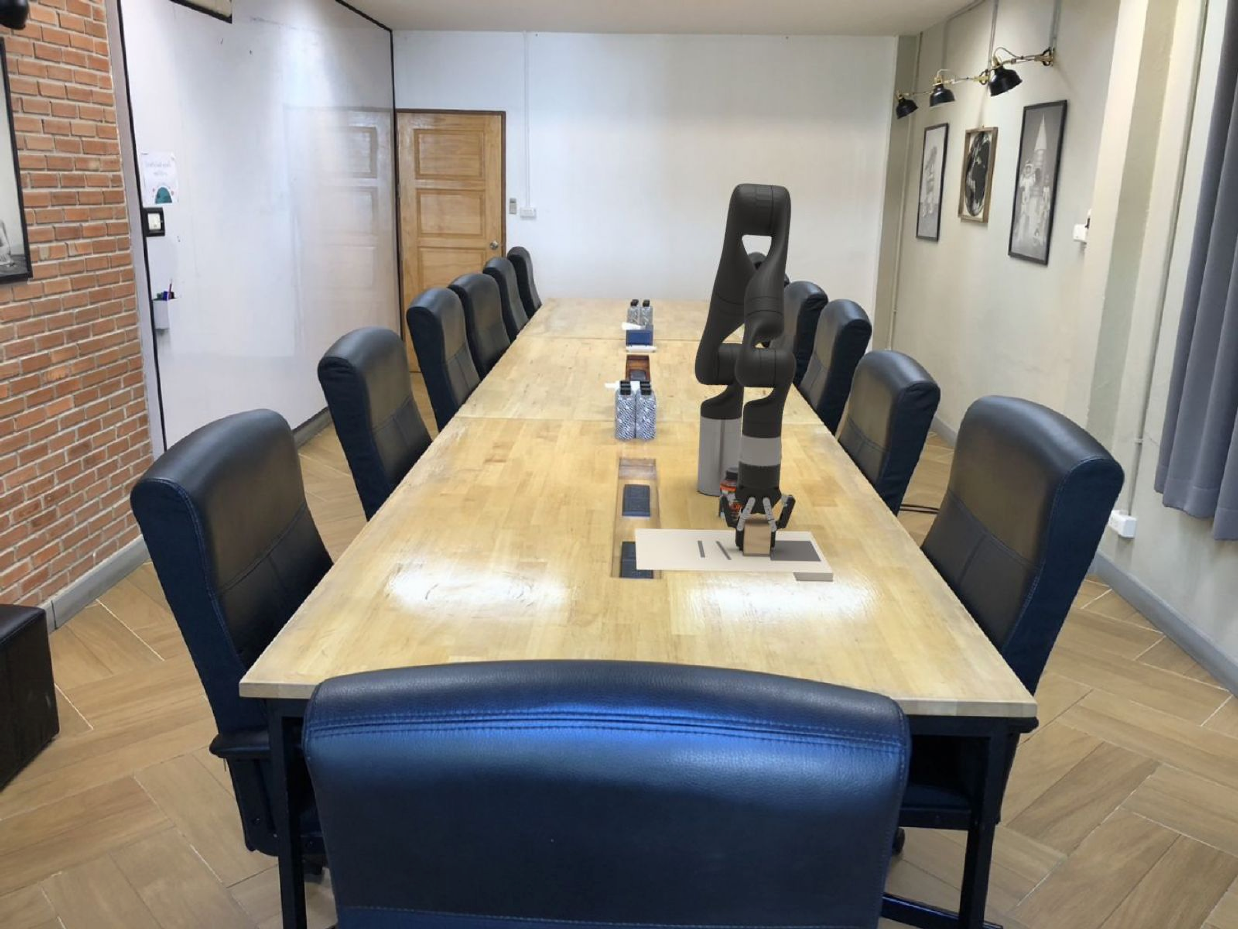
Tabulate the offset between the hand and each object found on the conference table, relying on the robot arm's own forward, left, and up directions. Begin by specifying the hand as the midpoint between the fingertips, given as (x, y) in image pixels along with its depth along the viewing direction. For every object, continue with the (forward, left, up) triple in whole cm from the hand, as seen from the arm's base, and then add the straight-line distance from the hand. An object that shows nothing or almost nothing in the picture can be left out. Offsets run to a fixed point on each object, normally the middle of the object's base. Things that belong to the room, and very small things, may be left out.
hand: (754, 548), depth 187 cm
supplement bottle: (-20, -2, -2) cm, 20 cm away
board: (0, -5, -2) cm, 5 cm away
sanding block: (0, 0, 0) cm, 0 cm away
